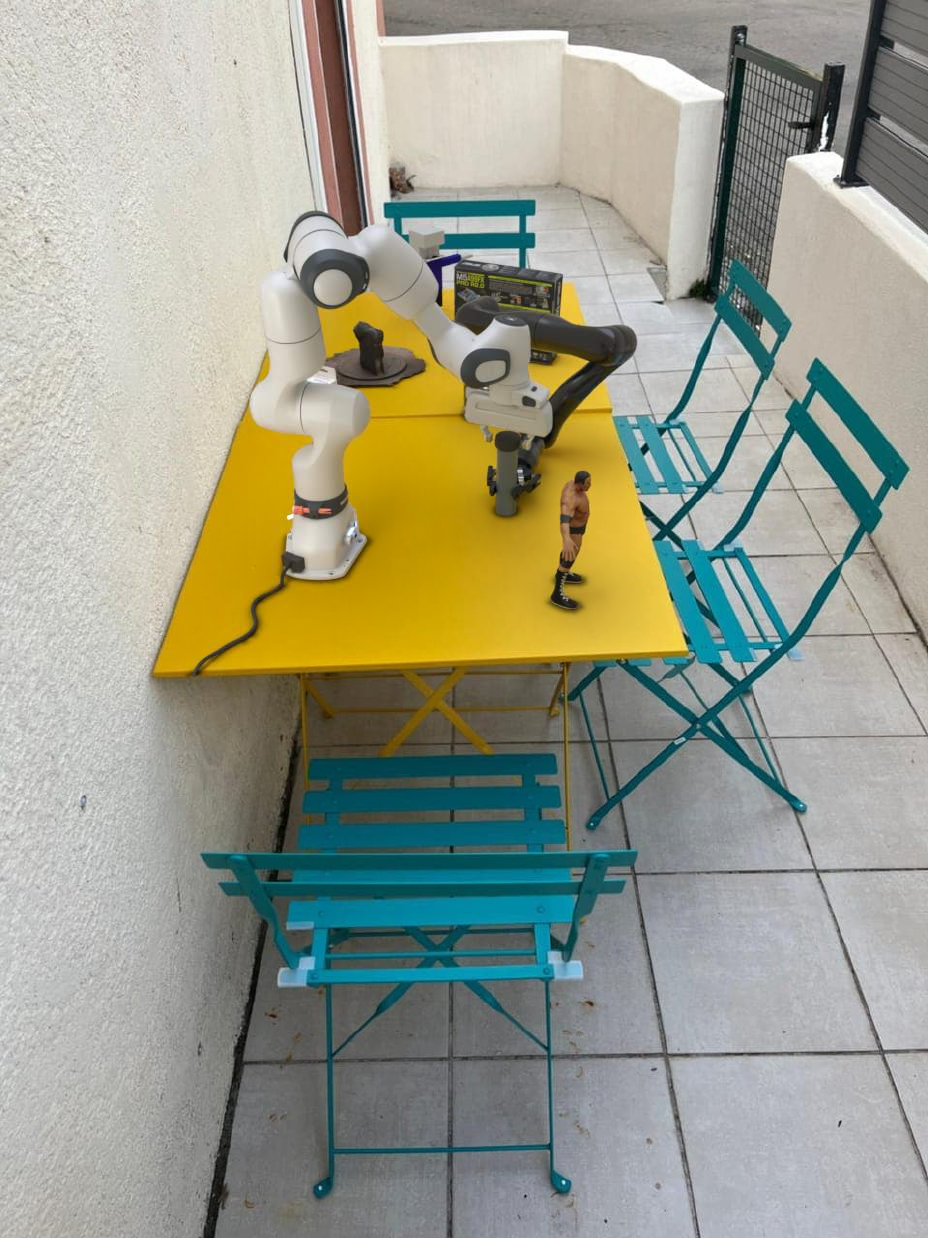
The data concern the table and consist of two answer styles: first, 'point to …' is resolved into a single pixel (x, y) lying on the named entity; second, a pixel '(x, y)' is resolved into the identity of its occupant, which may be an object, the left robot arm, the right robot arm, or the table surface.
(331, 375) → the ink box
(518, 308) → the box
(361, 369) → the sculpture
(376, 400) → the table surface
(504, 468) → the jar
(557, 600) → the figurine
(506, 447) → the lid
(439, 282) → the toy
